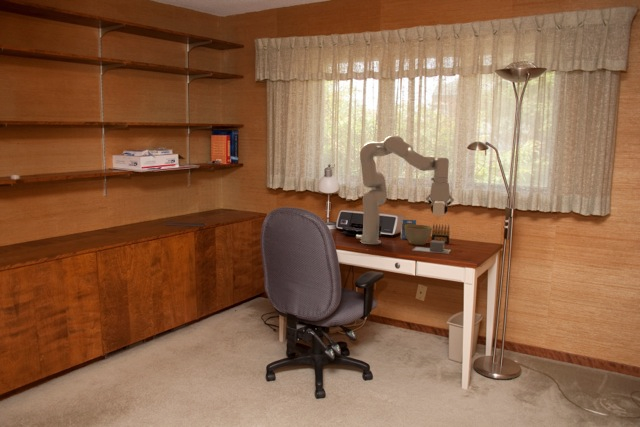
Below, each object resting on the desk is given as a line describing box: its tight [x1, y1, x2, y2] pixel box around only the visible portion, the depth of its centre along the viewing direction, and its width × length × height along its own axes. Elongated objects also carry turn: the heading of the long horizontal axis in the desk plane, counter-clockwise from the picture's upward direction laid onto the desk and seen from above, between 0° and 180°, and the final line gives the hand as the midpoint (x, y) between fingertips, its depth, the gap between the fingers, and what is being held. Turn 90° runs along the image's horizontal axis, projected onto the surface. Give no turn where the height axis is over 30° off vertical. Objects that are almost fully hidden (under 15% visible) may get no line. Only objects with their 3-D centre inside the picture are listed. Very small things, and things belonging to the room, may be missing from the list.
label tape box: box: [400, 219, 417, 240], centre depth 356 cm, size 9×4×12 cm, turn 93°
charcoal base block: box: [429, 240, 446, 253], centre depth 315 cm, size 7×7×5 cm
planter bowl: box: [405, 224, 433, 245], centre depth 336 cm, size 16×16×11 cm
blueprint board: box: [411, 246, 452, 255], centre depth 316 cm, size 20×12×1 cm, turn 71°
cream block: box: [432, 202, 446, 216], centre depth 312 cm, size 6×6×6 cm
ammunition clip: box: [430, 223, 451, 245], centre depth 343 cm, size 11×2×12 cm, turn 75°
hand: (439, 212), depth 312 cm, fingers closed on cream block, 6 cm apart
